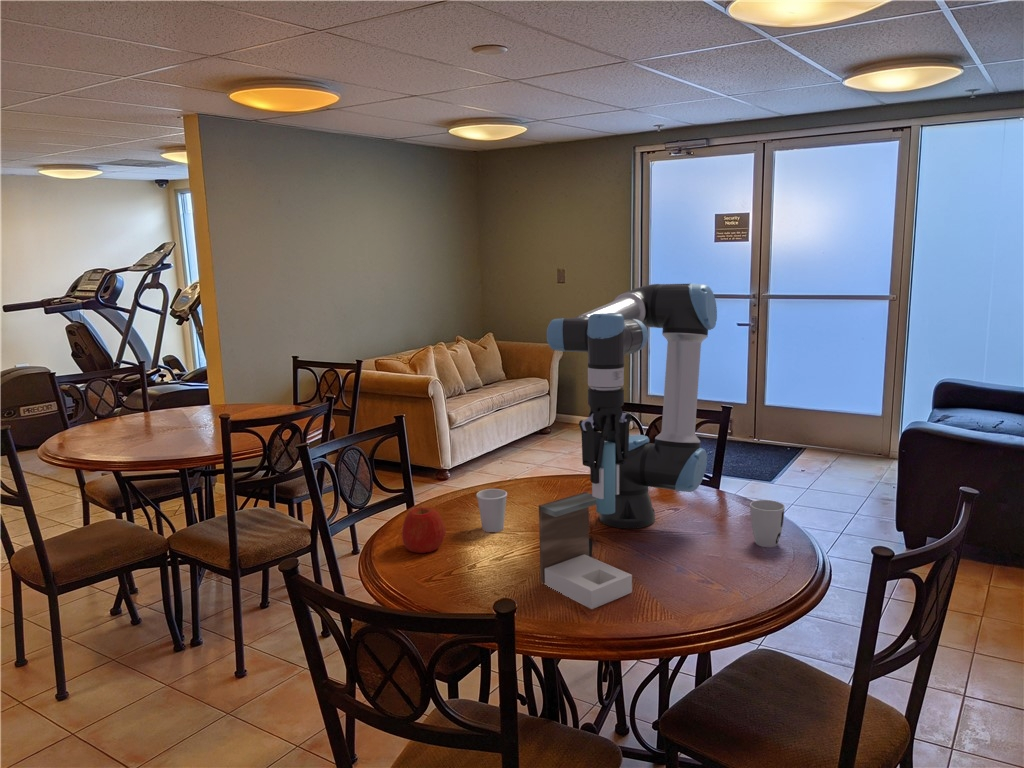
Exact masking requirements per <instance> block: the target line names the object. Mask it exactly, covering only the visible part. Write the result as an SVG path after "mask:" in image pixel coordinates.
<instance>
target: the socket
mask: <svg viewBox="0 0 1024 768" xmlns="http://www.w3.org/2000/svg"><path fill="white" fill-rule="evenodd" d="M545 585H547V586H548V588H549V587H550V588H549V589H551V588H552V589H551V590H553V589H554V590H553V591H555V590H556V591H555V592H557V591H558V592H557V593H559V592H560V593H559V594H561V593H562V594H561V595H563V596H565V597H566V598H568V597H569V599H571V600H573V601H574V602H577V604H578V603H579V604H580V605H583V606H584V607H586V608H588V609H590V610H594V609H596V608H598V607H601V606H604V605H605V604H608V603H610V602H613V601H615V600H617V599H620V598H622V597H625V596H627V595H629V594H631V593H633V574H631V573H629V572H627V571H624V570H622V569H619V568H617V567H615V566H613V565H610V564H608V563H605V562H603V561H601V560H598V559H596V558H594V557H589V556H587V555H585V554H584V555H581V556H578V557H575V558H572V559H570V560H567V561H564V562H561V563H559V564H556V565H553V566H550V567H547V568H545V584H544V586H545ZM547 586H546V587H547Z"/></svg>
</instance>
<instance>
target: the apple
mask: <svg viewBox="0 0 1024 768" xmlns="http://www.w3.org/2000/svg"><path fill="white" fill-rule="evenodd" d="M401 534H402V542H403V545H404V547H405V548H406V549H407V550H408V551H409V552H411V553H417V554H426V552H427V553H431V552H433V551H436V550H437V549H439V548H440V546H441V545H442V544H443V541H444V540H445V539H444V538H445V536H446V525H445V523H444V521H443V518H442V517H441V515H440V513H439V512H438V511H436V510H435V509H433V508H431V507H425V506H423V507H415V508H412V509H411V510H409V512H408V513H407V514H406V516H405V517H404V521H403V525H402V533H401Z"/></svg>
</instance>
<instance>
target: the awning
mask: <svg viewBox="0 0 1024 768" xmlns="http://www.w3.org/2000/svg"><path fill="white" fill-rule="evenodd" d="M592 506H596V497H593V496H592V493H589V492H586V491H584V492H581V493H577V494H574V495H570V496H566V497H563V498H560V499H555V500H553V501H550V502H546V503H542V504H539V505H538V527H539V528H538V529H539V531H538V532H539V533H538V534H539V568H540V570H539V572H540V573H539V574H540V575H539V576H540V584H541V583H543V584H544V583H545V568H547V567H550V566H553V565H556V564H559V563H561V562H564V561H567V560H570V559H572V558H575V557H578V556H581V555H584V554H585V555H587V556H589V538H590V521H589V520H590V518H589V517H590V515H589V514H590V513H589V509H590V507H592ZM543 584H542V585H543ZM544 585H545V584H544Z"/></svg>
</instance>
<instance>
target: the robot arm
mask: <svg viewBox="0 0 1024 768" xmlns="http://www.w3.org/2000/svg"><path fill="white" fill-rule="evenodd" d="M717 320H718V309H717V301H716V298H715V294H714V291H713V290H712V288H711V287H710V286H709V285H707V284H701V283H691V282H690V283H666V284H665V283H663V284H661V283H654V284H652V283H651V284H648V285H641V286H640V287H636V288H634V289H631V290H628V291H625V292H623V293H621V294H619V295H617V296H616V297H615V298H614V300H613V301H611V302H608V303H607V304H604V305H601V306H599V307H596V308H594V309H592V310H589V311H587V312H585V313H582V314H580V315H577V316H574V317H572V318H565V317H562V318H554V319H552V320H551V321H550V322H549V323H548V326H547V329H546V341H547V342H546V343H547V344H548V347H549V348H550V349H551V350H553V351H557V352H563V353H568V352H569V353H587V385H588V387H589V388H588V389H587V405H588V406H589V408H590V411H589V413H588V418H586V419H585V420H582V419H581V420H579V421H578V425H579V428H580V432H581V434H580V435H581V457H582V466H584V467H589V470H590V474H589V475H590V479H589V480H590V483H591V494H592V496H593V497H596V498H599V499H604V469H603V468H600V467H601V461H602V455H603V448H604V441H606V440H605V439H607V441H610V442H614V443H615V513H613V514H600V513H599V521H600V522H601V523H602V524H604V525H606V526H609V527H612V528H616V529H617V528H619V529H627V530H629V529H641V528H645V527H649V526H650V525H652V524H654V523H655V522H656V512H655V509H654V508H653V503H652V500H651V496H650V493H649V490H650V489H649V488H656V489H663V490H668V491H669V490H670V491H675V492H678V493H679V492H683V493H685V492H686V493H693V492H695V491H697V489H699V487H700V485H701V483H702V481H703V479H704V476H705V473H706V469H707V463H708V456H707V455H708V453H707V451H706V449H704V448H703V447H701V440H700V438H699V437H698V436H697V435H696V424H697V423H696V422H697V420H696V419H697V409H698V407H697V406H698V395H699V393H698V392H699V380H700V379H699V377H700V367H701V366H700V363H701V351H702V349H701V348H702V343H703V342H704V341H705V340H706V339H707V338H708V335H709V331H712V330H713V329H714V328H715V327H716V325H717ZM648 328H653V329H654V328H658V329H662V331H661V332H662V336H663V337H664V338H665V339H666V342H667V346H666V360H665V361H666V362H665V376H664V389H663V407H662V420H661V431H660V433H658V434H657V435H656V436H655V438H654V443H653V442H652V443H651V442H650V437H648V436H647V435H644V434H630V425H631V421H632V417H633V416H632V414H631V413H626V412H623V409H622V407H623V406H624V405H625V390H624V388H623V386H624V385H625V374H624V373H625V355H630V354H631V355H632V354H634V353H637V352H638V351H641V350H643V349H644V347H645V346H646V345H647V344H648V340H649V332H648Z"/></svg>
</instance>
